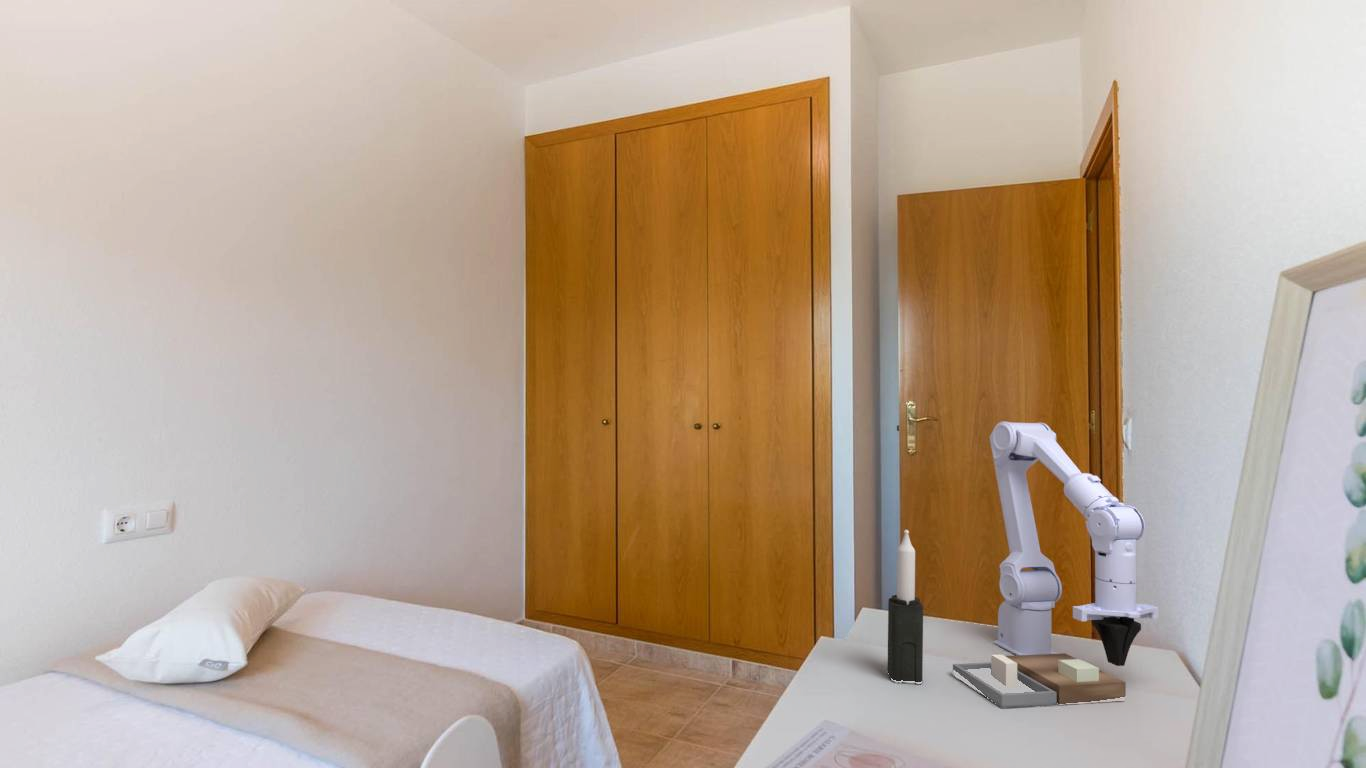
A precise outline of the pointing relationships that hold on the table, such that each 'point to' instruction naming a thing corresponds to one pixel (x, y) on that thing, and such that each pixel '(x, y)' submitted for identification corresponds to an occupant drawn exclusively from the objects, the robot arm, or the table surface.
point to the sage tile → (1078, 670)
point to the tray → (1009, 700)
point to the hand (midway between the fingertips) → (1116, 663)
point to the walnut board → (1068, 679)
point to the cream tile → (1004, 670)
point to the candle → (905, 620)
